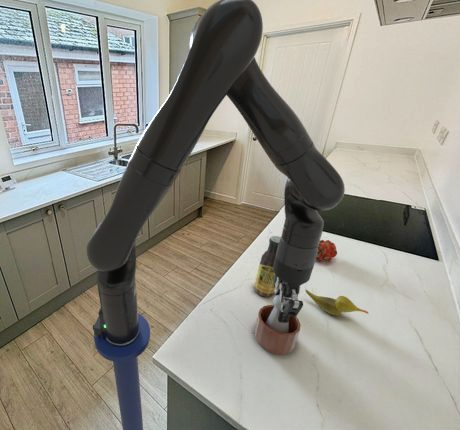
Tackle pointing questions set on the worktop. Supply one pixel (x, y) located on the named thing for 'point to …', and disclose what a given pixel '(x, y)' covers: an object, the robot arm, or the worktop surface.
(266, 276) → the sauce bottle
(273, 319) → the salt shaker
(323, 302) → the yellow-green tapered piece
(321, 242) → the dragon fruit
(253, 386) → the worktop surface
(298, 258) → the robot arm
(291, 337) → the cup
